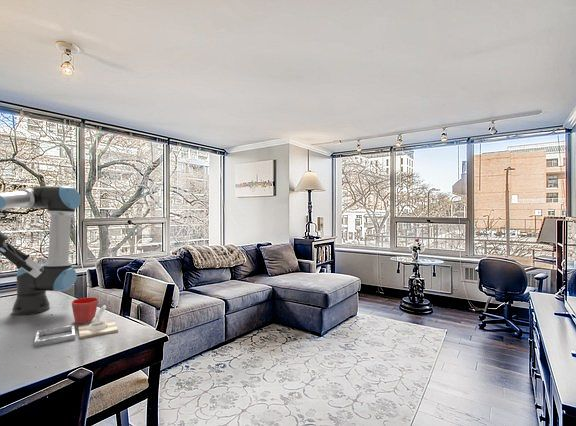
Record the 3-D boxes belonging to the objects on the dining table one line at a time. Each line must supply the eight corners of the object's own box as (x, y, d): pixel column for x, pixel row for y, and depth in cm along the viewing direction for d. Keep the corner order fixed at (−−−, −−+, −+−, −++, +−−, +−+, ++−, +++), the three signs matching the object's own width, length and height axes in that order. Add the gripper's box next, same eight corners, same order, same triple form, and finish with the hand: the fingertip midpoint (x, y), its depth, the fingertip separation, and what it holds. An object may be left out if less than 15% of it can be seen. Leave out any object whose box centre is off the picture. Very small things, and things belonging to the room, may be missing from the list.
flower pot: (103, 318, 155) (103, 298, 155) (82, 325, 145) (82, 304, 145) (87, 315, 159) (87, 296, 159) (65, 322, 148) (65, 302, 148)
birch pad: (78, 328, 142) (78, 326, 142) (113, 322, 150) (113, 320, 150) (79, 338, 130) (79, 336, 130) (118, 331, 138) (118, 329, 138)
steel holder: (36, 335, 133) (36, 330, 133) (74, 329, 140) (74, 324, 140) (34, 346, 122) (34, 341, 122) (75, 339, 130) (75, 334, 130)
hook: (113, 318, 137) (98, 310, 135) (98, 339, 138) (82, 332, 136) (119, 309, 144) (105, 301, 142) (105, 329, 145) (90, 322, 143)
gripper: (-14, 241, 133) (32, 273, 142) (-26, 249, 113) (29, 285, 122) (3, 228, 136) (47, 260, 145) (-5, 233, 116) (46, 270, 125)
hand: (39, 272), depth 133 cm, fingers open, 13 cm apart
